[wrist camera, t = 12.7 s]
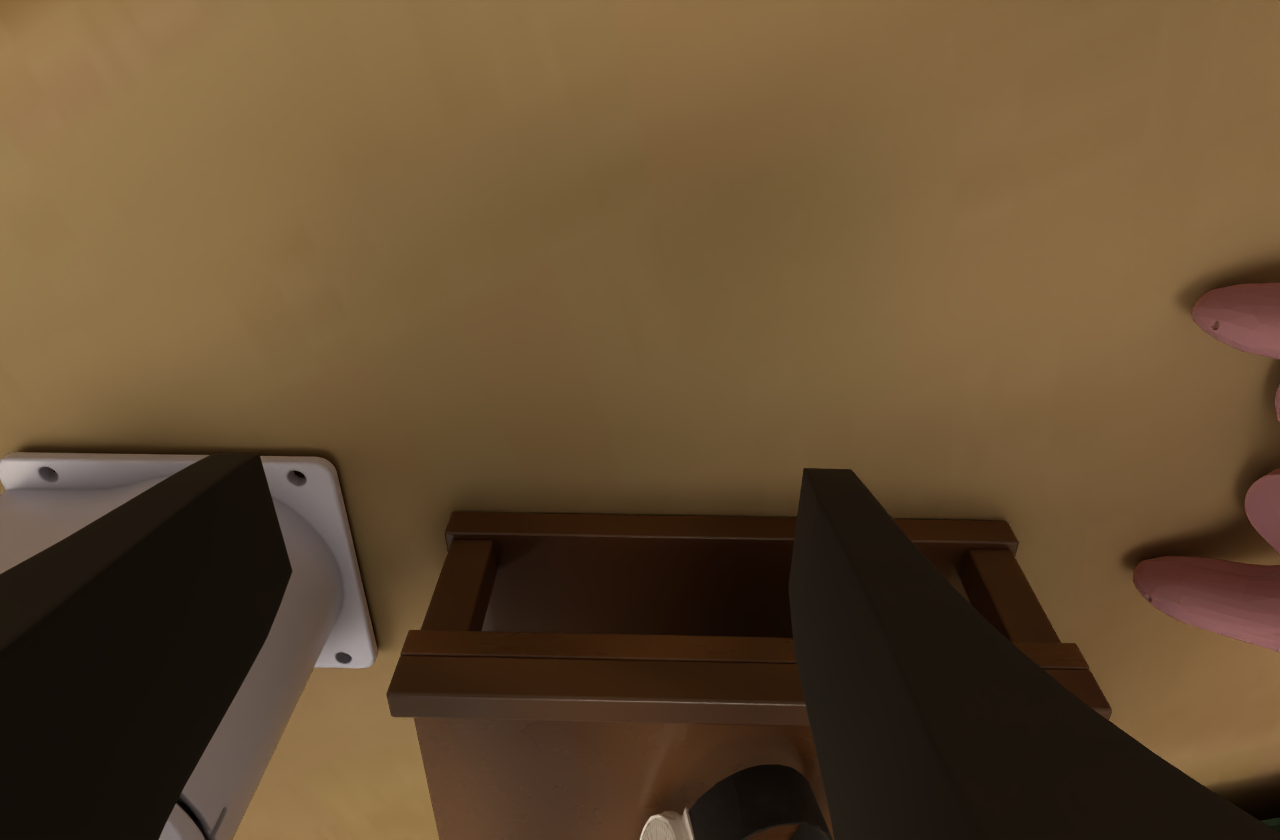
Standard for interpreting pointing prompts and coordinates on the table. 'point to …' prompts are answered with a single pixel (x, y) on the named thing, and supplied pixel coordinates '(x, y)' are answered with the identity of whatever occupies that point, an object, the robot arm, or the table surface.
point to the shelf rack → (642, 664)
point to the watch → (746, 809)
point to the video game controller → (1275, 504)
